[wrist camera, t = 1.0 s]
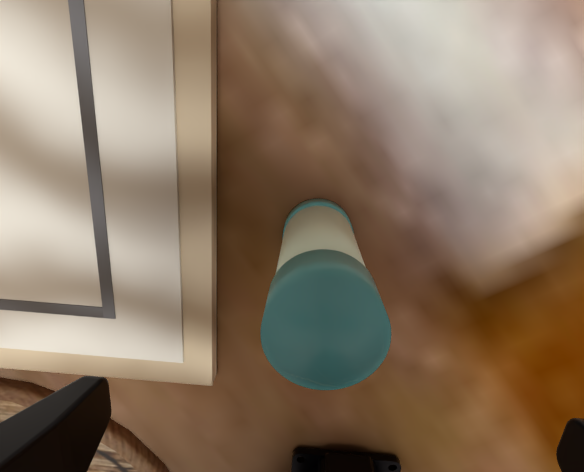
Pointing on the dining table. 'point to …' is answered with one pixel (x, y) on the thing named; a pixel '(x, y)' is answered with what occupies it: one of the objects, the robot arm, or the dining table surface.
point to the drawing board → (109, 188)
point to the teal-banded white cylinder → (323, 303)
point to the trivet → (115, 442)
